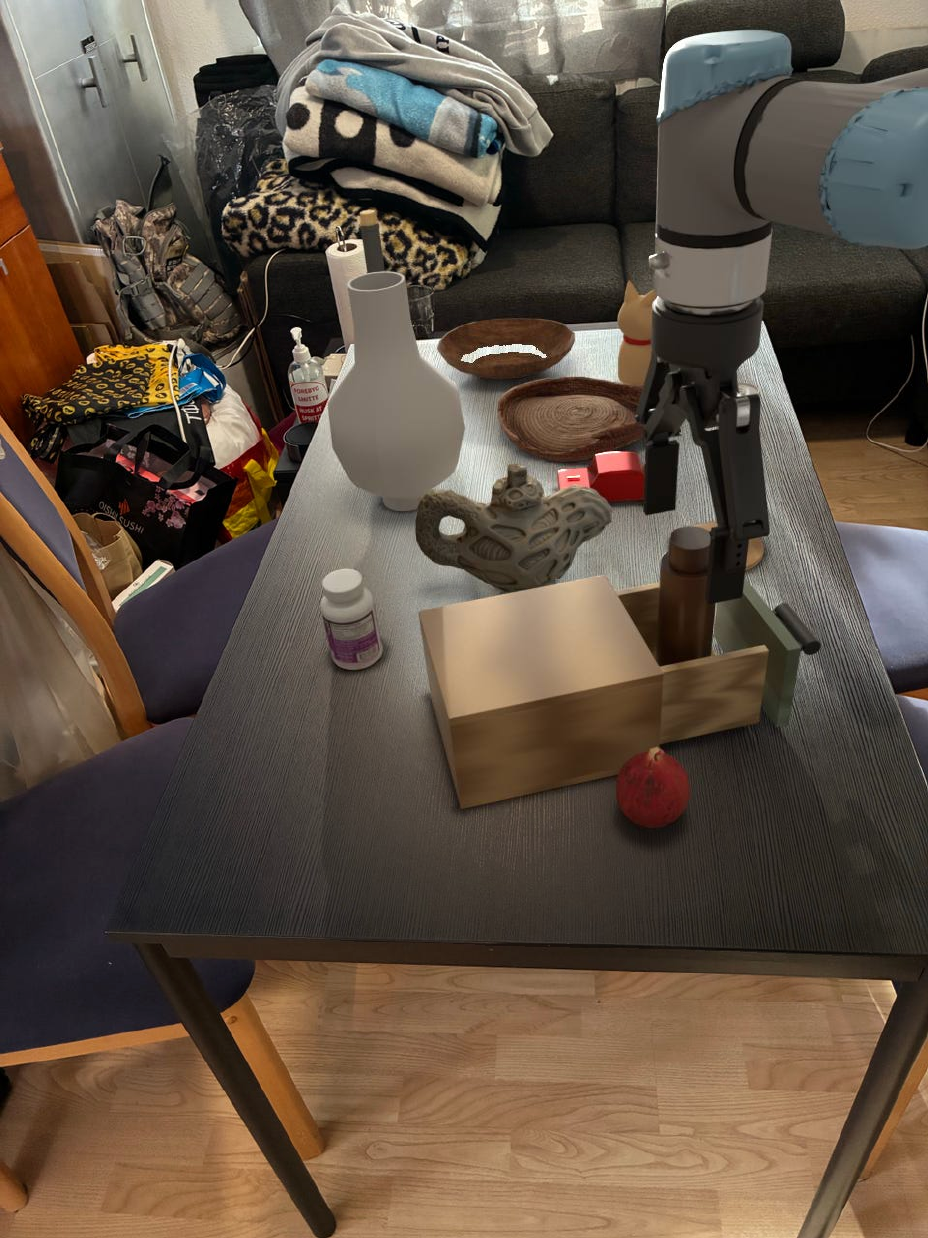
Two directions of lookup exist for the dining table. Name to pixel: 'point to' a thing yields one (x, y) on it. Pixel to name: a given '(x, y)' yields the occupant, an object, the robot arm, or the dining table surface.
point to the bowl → (501, 332)
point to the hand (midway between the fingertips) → (689, 551)
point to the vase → (393, 401)
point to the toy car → (609, 476)
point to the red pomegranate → (652, 788)
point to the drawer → (727, 664)
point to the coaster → (753, 548)
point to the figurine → (635, 336)
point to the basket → (570, 417)
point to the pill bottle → (350, 620)
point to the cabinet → (540, 688)
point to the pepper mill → (684, 599)
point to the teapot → (512, 530)
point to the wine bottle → (371, 242)
